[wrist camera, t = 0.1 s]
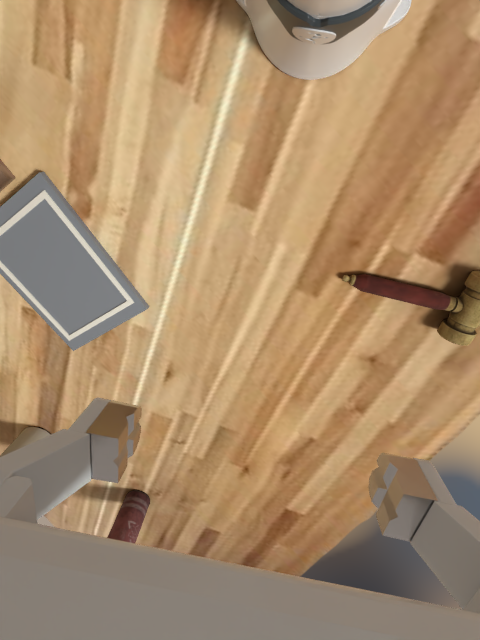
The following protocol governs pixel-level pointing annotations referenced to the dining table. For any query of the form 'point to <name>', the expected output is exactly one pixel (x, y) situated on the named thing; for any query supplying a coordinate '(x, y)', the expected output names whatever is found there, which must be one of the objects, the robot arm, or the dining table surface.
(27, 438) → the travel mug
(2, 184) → the stand
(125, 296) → the mat
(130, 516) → the can
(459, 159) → the dining table surface
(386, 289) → the gavel
